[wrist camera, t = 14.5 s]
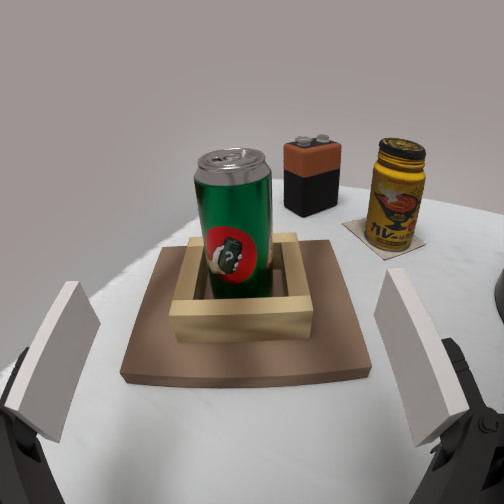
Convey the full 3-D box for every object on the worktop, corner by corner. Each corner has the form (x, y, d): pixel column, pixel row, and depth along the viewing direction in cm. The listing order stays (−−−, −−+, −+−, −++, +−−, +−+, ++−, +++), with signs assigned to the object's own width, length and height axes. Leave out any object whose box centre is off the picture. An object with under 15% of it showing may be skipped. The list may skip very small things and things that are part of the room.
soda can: (284, 305, 25) (285, 160, 18) (225, 326, 23) (203, 177, 16) (258, 270, 28) (251, 142, 21) (206, 287, 27) (184, 155, 20)
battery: (282, 206, 42) (281, 136, 36) (317, 194, 45) (320, 130, 39) (302, 219, 39) (304, 143, 33) (338, 205, 42) (343, 137, 36)
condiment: (384, 261, 31) (404, 155, 24) (341, 224, 38) (349, 132, 31) (425, 245, 33) (446, 152, 26) (383, 214, 40) (394, 130, 33)
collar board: (327, 251, 33) (331, 215, 30) (367, 377, 20) (383, 340, 17) (165, 258, 33) (156, 223, 31) (126, 383, 20) (103, 347, 18)
